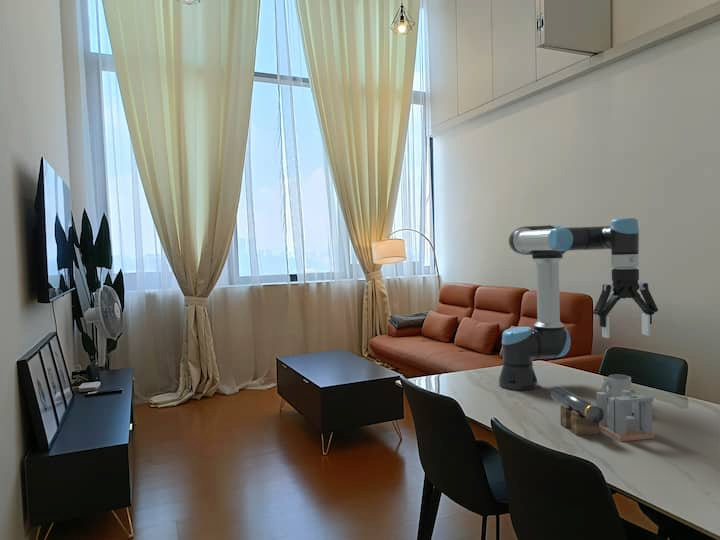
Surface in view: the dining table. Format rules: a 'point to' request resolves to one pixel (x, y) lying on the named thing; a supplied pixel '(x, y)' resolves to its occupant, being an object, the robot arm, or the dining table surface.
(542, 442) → the dining table surface
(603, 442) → the dining table surface
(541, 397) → the dining table surface
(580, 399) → the tube
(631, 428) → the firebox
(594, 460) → the dining table surface
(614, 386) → the cup
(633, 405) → the ornament
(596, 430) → the rack
